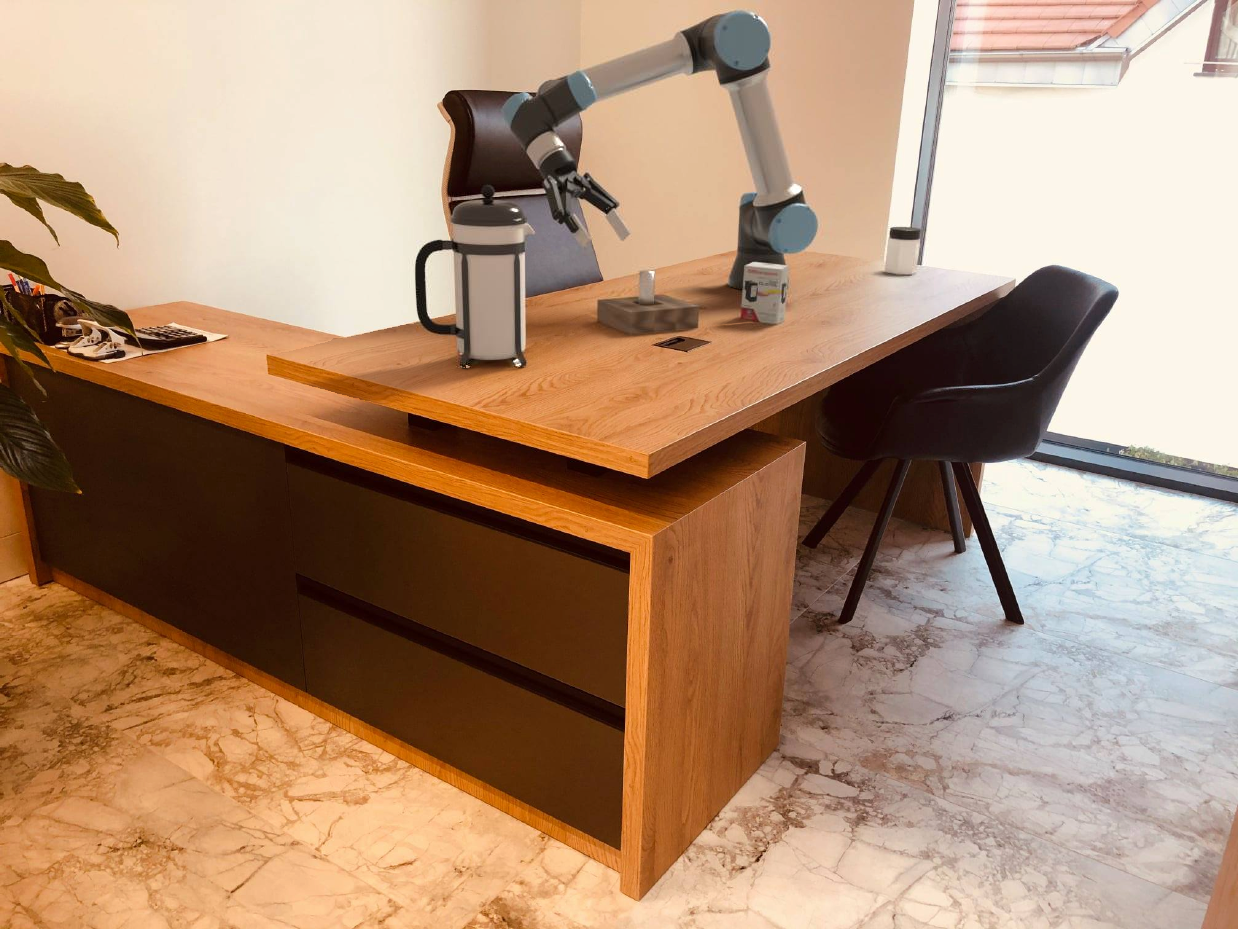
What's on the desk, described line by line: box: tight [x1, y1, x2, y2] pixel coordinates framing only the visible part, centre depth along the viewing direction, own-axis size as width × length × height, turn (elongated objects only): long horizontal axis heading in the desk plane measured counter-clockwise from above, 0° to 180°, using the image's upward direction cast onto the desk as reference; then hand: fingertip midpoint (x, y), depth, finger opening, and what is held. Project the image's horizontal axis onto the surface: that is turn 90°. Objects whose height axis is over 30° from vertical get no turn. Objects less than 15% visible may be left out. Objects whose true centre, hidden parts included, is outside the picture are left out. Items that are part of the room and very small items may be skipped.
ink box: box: [740, 262, 790, 325], centre depth 213 cm, size 9×5×12 cm, turn 62°
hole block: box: [596, 293, 700, 336], centre depth 208 cm, size 16×14×4 cm
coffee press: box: [414, 184, 536, 369], centre depth 172 cm, size 17×16×30 cm
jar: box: [884, 226, 922, 276], centre depth 278 cm, size 9×8×12 cm
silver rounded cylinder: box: [637, 269, 656, 306], centre depth 206 cm, size 3×3×11 cm
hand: (607, 240), depth 210 cm, fingers open, 13 cm apart
